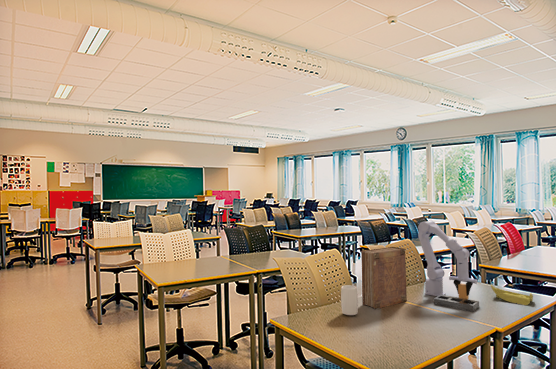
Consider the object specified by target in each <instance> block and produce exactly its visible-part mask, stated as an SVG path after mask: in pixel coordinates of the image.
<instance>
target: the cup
mask: <svg viewBox="0 0 556 369" xmlns="http://www.w3.org/2000/svg"><path fill="white" fill-rule="evenodd" d="M358 294H359V293H358V288H357V286H356V285H352V284H351V285H350V284H349V285H348V284H347V285H346V284H345V285H342V286H341V287H340V303H341V305H340V306H341V313H342V314H344V315H347V316H354V315H357V314H358V311H359V308H358V307H359V299H358V297H359V296H358Z"/></svg>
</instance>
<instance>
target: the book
mask: <svg viewBox="0 0 556 369" xmlns="http://www.w3.org/2000/svg"><path fill="white" fill-rule="evenodd" d="M360 252H361V254H360V255H361V256H360V257H361V261H360V262H361V294H362V297H361V298H362V299H361V302H362V306H368V307H371V308H373V309H374V310H379V309H383V308H386V306H387V307H391V306H394V305H397V304H401V303H405V302H407V301H408V299H407V298H408V297H407V272H406V271H407V269H406V268H407V267H406V263H407V262H406V260H407V259H406V248H403V247H396V246H390V247H389V246H387V247H381V248H374V249H365V250H361V251H360ZM382 307H383V308H382Z"/></svg>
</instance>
